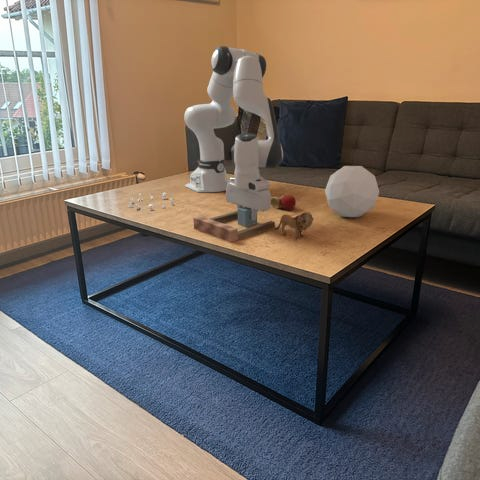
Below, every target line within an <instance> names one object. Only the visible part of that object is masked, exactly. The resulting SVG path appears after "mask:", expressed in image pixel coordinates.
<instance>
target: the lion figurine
mask: <svg viewBox="0 0 480 480" xmlns="http://www.w3.org/2000/svg"><path fill="white" fill-rule="evenodd" d="M313 222H314V217H313V214H312V213H311V212H309V211H306V212H303V213H301V214H299V215H296V216H295V217H293V216H291V215H289V214H282V216H281V217H280V221H279V224H278V226H277V227H275V228H273V230H274V231H277V230H279V229H281V235H282V236H285V235H286V233H285V232H286V229H285V227H287V226H288V227H289V228H291V229H294V230H295V237H296V240H301V238H303V237H304V235H303V234H302V233H303V231H306V230H307V229H308V228H309V227H311V226H312V224H313ZM280 227H281V228H280Z"/></svg>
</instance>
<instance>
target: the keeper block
mask: <svg viewBox="0 0 480 480" xmlns="http://www.w3.org/2000/svg"><path fill="white" fill-rule="evenodd" d="M237 211H238V218H237V225H239V226H242V227H243V228H246V227H247V228H248V227H251V226H253V225H256V224H258V213H257V214H256V219H255V220H250V215H251V214H252V212H253V211H251V208H247V207H244V206H243V207H242V208H237Z"/></svg>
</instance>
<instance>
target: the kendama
mask: <svg viewBox="0 0 480 480" xmlns="http://www.w3.org/2000/svg"><path fill="white" fill-rule="evenodd" d="M296 204H297V203H296V198H295V197H294V196H293V195H291V194H288V193H283V194H282V195H281V196H280V197H277V196H271V207H272V208H274V209H276V210H277V209H280V208H281V207H282V208H283V209H284V210H287V211H289V210H293V209H294V208H295V207H296Z"/></svg>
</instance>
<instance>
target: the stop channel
mask: <svg viewBox="0 0 480 480" xmlns="http://www.w3.org/2000/svg"><path fill="white" fill-rule="evenodd" d="M236 219H238V210H235V211H232V212H229V213H228V212H227V213H225V214H221V215H218V216H214V217H210V218H207V217H206V216H201V215H198V216H194V217H193V229H194V230H197V231H200V232H203V233H206V234H208V235H211V236H214V237H216V238H219V239H222V240H225V241H227V242H229V243H232V242H236V241H239V240H242V239H244V238H247V237H250V236H253V235H254V236H255V235H256V234H260V233H262V232H263V233H264V232H266V231H268V230H271V229H276V221H272V220H269V221H266V222H263V223H260V224H257V225H256V224H255V225H254V226H253V225H252V226H249V227H247V228H244V229H241V230H239V231H238V227H235V226H231V225H228V224H225V222H228V221H231V220H236Z"/></svg>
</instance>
